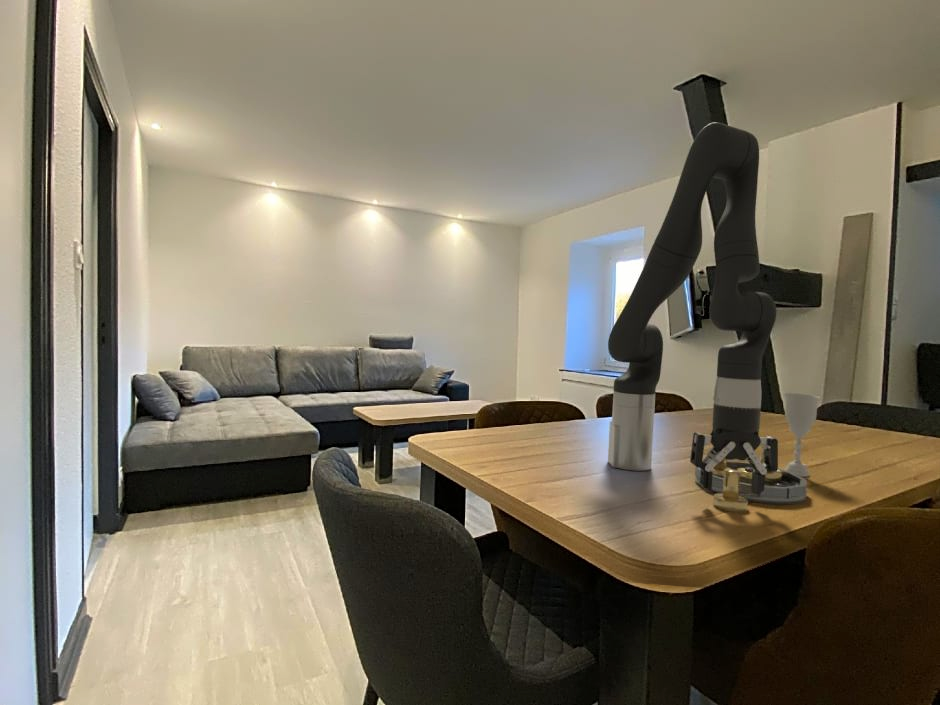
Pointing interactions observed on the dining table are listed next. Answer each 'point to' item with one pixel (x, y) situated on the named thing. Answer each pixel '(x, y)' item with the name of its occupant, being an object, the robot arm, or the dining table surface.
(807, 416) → the chalice
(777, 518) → the dining table surface
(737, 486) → the planet gear
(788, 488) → the carrier
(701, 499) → the dining table surface
